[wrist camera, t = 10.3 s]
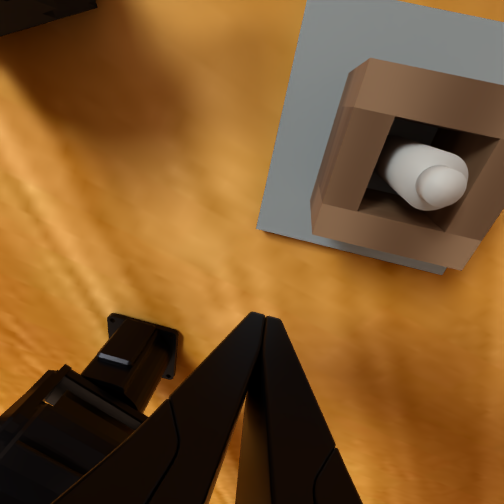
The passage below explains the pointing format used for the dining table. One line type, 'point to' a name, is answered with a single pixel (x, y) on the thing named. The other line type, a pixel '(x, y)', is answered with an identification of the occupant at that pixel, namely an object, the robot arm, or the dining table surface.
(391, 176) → the grey peg base
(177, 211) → the dining table surface
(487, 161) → the hollow square sleeve
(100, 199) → the dining table surface
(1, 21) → the toy
